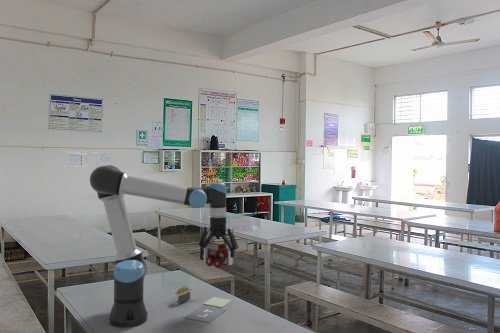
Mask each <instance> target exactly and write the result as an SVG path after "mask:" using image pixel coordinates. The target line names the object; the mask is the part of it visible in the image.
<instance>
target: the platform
mask: <svg viewBox="0 0 500 333" xmlns="http://www.w3.org/2000/svg"><path fill="white" fill-rule="evenodd" d="M193 291H194V289H193V288H189V286H187V287H186V286H183V287H179V288H177V291H175V292H174V294H175V296H178V298H177V299H178V300H177V301H178V304H181V303H184V302H186V301H189V300H191V292H193Z"/></svg>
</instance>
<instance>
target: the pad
mask: <svg viewBox="0 0 500 333" xmlns="http://www.w3.org/2000/svg"><path fill="white" fill-rule="evenodd" d="M232 302H233V300H232V299H227V298H221V297H215V296H213V297H211V298H210V299H208V300H205V301H204V302H203V303H202V305H204V306H210V307H215V308H221V309H224V307H226V306H227V305H228V304H230V303H232Z"/></svg>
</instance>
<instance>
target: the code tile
mask: <svg viewBox="0 0 500 333" xmlns="http://www.w3.org/2000/svg"><path fill="white" fill-rule="evenodd" d="M226 311H227V309H225V308H220V307H215V306H209V305H204V304H202V305H201V306H200V307H198V308H197V309H195V310H193V311H192V312H190V313H188V314H186V316H184V317H183V319H187V320H192V321H197V322H202V323H207V324H209V323H211V322H212V321H213V320H214V319H215V320H216V318H218V317H219V316H220V315H222V314H223V313H224V312H226Z"/></svg>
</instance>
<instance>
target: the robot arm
mask: <svg viewBox="0 0 500 333" xmlns="http://www.w3.org/2000/svg"><path fill="white" fill-rule="evenodd" d="M89 183H90V186H91V188H92V189H93V191H95V192H96V194H97V197H98V200H99V201H101V202H102V203H103V206H104V209H105V213H106V217H107V220H108V224H109V228H110V232H111V237H112V239H113V243H114V248H115V252H116V256H115V258H114V261H115V266H114V271H113V278H114V279H113V304H112V307H111V310H110V314H109V316H108V323H109V324H110V325H111V326H113V327H118V328H130V327H136V326H139V325H142V324H143V323H145V322H147V320H148V311H147V309H146V305H145V301H144V283H145V282H144V281H145V277H146V274H147V269H148V268H147V267H148V266H147V263H146V261H145V259H144V258H143V253H142V250H141V249H138V246H137V245H136V241H135V236H134V233H133V228H132V225H131V221H130V217H129V214H128V209H127V205H126V202H125V198H124V196H125V195H129V196H135V197H140V198H146V199H150V200H156V201H161V202H167V203H172V204H178V205H184V206H188V207H193V208H194V209H201V208H203V207H205V205H208V204H209V216H210V217H209V225H210V226H209V225H206V226H203V233H202V236H201V238H200V240H199V243H198V246H199V247H201V248H202V254H203V262H204V263H206V259H207V258H208V248H207V244H208V243H209V242H212V240H213V238H215V237H216V238H217V237H218V238H221V239H222V240H223V241H224V243H225V244H226V246H227V247H228V249H229V250H228V260H229V264H228V266H231V265H233V264H234V263H233V262H234V260H233V259H234V258H235V250H237V249H239V246H238V243H237V240H236V238H235V235H234V231H233V227H228V228H227V186H226V185H227V184H225V183H224V182H212V183H209V186H208V187H186V186H182V185H176V184H171V183H166V182H161V181H157V180H150V179H147V178H140V177H135V176H131V175H127V173H126V172H123V171H121V170H120V169H119V168H118V167H116V166H114V165H111V164H110V165H109V164H108V165H101V166H98V167H96V168H95V169H93V171H92V172H91V174H90V175H89ZM209 232H210V234H209Z"/></svg>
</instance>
